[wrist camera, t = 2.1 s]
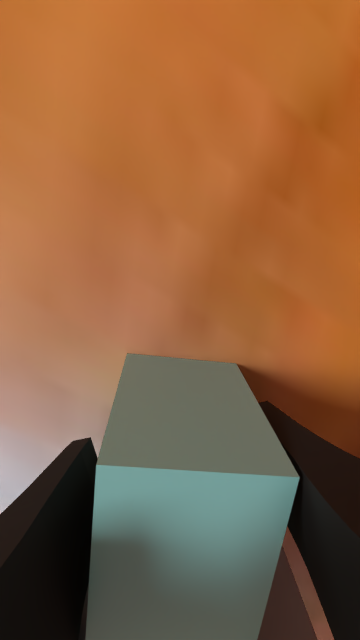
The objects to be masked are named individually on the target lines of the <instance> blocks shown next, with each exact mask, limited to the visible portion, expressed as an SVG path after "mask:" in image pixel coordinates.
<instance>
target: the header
mask: <svg viewBox="0 0 360 640" xmlns="http://www.w3.org/2000/svg"><path fill="white" fill-rule="evenodd" d="M88 589H89V584H88V588H87V592H86V597H85V602H84V607H83V612H82V618H81V625H80V632H79V639H78V640H85V638H86V621H87V605H88ZM257 640H317V637H316V635H315V632H314V629H313V627H312V624H311V621H310V619H309V616H308V613H307V611H306V608H305V605H304V603H303V600H302V597H301V595H300V592H299V589H298V587H297V584H296V581H295V579H294V576H293V573H292V571H291V568H290V565H289V563H288V560H287V557H286V555H285V552H284V549H283V547H281V551H280V555H279V559H278V562H277V566H276V570H275V574H274V578H273V581H272V585H271V589H270V593H269V597H268V601H267V604H266V608H265V612H264V616H263V620H262V624H261V627H260V631H259V635H258V639H257Z"/></svg>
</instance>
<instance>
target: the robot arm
mask: <svg viewBox="0 0 360 640" xmlns="http://www.w3.org/2000/svg"><path fill="white" fill-rule="evenodd" d="M258 404H259V405H260V407H261V409H262V411H263V412H264V414H265V416H266V418H267V420H268V421H269V423H270V425H271V427H272V429H273V430H274V432H275V434H276V436H277V438H278V439H279V441H280V443H281V445H282V447H283V448H284V450H285V452H286V454H287V456H288V457H289V459H290V461H291V463H292V465H293V466H294V468H295V470H296V472H297V474H298V475H299V477H300V478H299V482H298V486H297V490H296V493H295V497H294V501H293V505H292V509H291V513H290V516H289V520H288V524H287V526H288V528H289V530H290V532H291V534H292V536H293V538H294V540H295V542H296V545H297V547H298V549H299V551H300V553H301V555H302V557H303V560H304V562H305V564H306V566H307V569H308V571H309V574H310V576H311V579H312V582H313V584H314V587H315V589H316V592H317V595H318V597H319V600H320V602H321V605H322V608H323V610H324V613H325V616H326V618H327V621H328V624H329V626H330V629H331V632H332V634H333V637H334V640H360V459H359V458H357V457H355V456H353V455H351V454H349V453H347V452H345V451H343V450H341V449H339V448H338V447H336V446H334V445H332V444H331V443H329V442H327V441H325V440H324V439H322V438H320V437H319V436H317V435H315V434H314V433H312V432H311V431H309V430H308V429H306V428H305V427H303V426H302V425H300V424H299V423H297V422H296V421H294V420H293V419H292V418H290V417H289V416H287V415H286V414H285V413H283V412H282V411H280V410H279V409H278V408H276V407H275V406H274V405H272V404H271V403H269V402H268V401H265V402H260V403H258ZM97 460H98V459H97V456H96V452H95V449H94V446H93V443H92V440H91V437H90V438H85V439H81V440H76V441H73V442H71V443H70V444H69V445H68V446H67V447H66V448H65V449H64V450H63V451H62V452H61V453H60V454H59V455H58V456H57V458H56V459H55V460H54V461H53V462H52V463H51V464H50V465H49V466H48V467H47V468H46V469H45V470H44V471H43V472H42V473H41V474H40V475H39V477H38V478H37V479H36V480H35V481H34V482H33V483H32V484H31V485H30V486H29V487H28V488H27V489H26V490H25V491H24V492H23V493H22V494H21V495H20V496H19V497H18V498H17V499H16V500H15V501H14V502H13V503H12V504H11V505H9V506H8V507H7V508H6V509H5V510H4V511H3V512H2V513H1V514H0V640H78V639H79V632H80V625H81V618H82V612H83V607H84V602H85V597H86V592H87V588H88V584H89V573H90V557H91V541H92V525H93V508H94V492H95V476H96V464H97Z"/></svg>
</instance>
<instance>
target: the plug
mask: <svg viewBox="0 0 360 640" xmlns="http://www.w3.org/2000/svg"><path fill="white" fill-rule="evenodd" d="M299 478H300V477H299V475H298V474H297V472H296V470H295V468H294V466H293V465H292V463H291V461H290V459H289V457H288V456H287V454H286V452H285V450H284V448H283V447H282V445H281V443H280V441H279V439H278V438H277V436H276V434H275V432H274V430H273V429H272V427H271V425H270V423H269V421H268V420H267V418H266V416H265V414H264V412H263V411H262V409H261V407H260V405H259V404H258V402H257V400H256V398H255V396H254V395H253V393H252V391H251V389H250V387H249V386H248V384H247V382H246V380H245V378H244V377H243V375H242V373H241V371H240V369H239V368H238V366H237V364H235V363H225V362H214V361H203V360H193V359H182V358H171V357H161V356H150V355H140V354H129V353H127V356H126V359H125V363H124V366H123V370H122V374H121V377H120V381H119V384H118V388H117V392H116V395H115V399H114V402H113V406H112V410H111V413H110V417H109V420H108V424H107V428H106V431H105V435H104V439H103V442H102V446H101V449H100V453H99V457H98V460H97V464H96V476H95V492H94V508H93V525H92V541H91V557H90V573H89V589H88V605H87V621H86V638H85V640H257V639H258V635H259V631H260V627H261V624H262V620H263V616H264V612H265V608H266V604H267V601H268V597H269V593H270V589H271V585H272V581H273V578H274V574H275V570H276V566H277V562H278V559H279V555H280V551H281V547H282V543H283V539H284V536H285V532H286V528H287V524H288V520H289V516H290V513H291V509H292V505H293V501H294V497H295V493H296V490H297V486H298V482H299Z"/></svg>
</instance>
